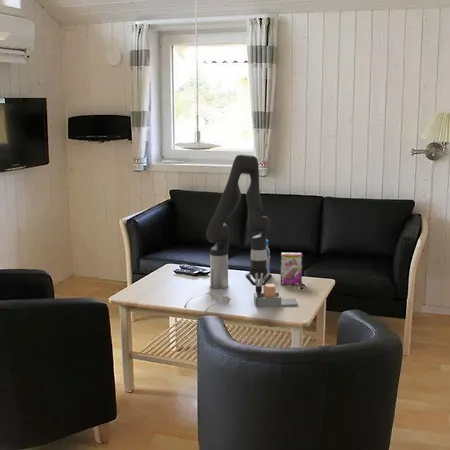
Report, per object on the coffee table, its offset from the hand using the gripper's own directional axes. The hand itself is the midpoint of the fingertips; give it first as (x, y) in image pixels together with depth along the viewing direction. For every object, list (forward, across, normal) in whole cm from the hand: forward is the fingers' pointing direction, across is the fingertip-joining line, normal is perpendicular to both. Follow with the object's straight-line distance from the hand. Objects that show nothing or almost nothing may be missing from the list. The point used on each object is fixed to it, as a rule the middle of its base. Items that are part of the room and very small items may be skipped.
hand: (258, 293), depth 320 cm
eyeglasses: (+6, -25, +1) cm, 26 cm away
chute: (+6, +8, 0) cm, 10 cm away
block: (+4, +5, 0) cm, 7 cm away
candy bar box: (+6, +21, +33) cm, 40 cm away
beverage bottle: (+6, +8, +51) cm, 52 cm away
